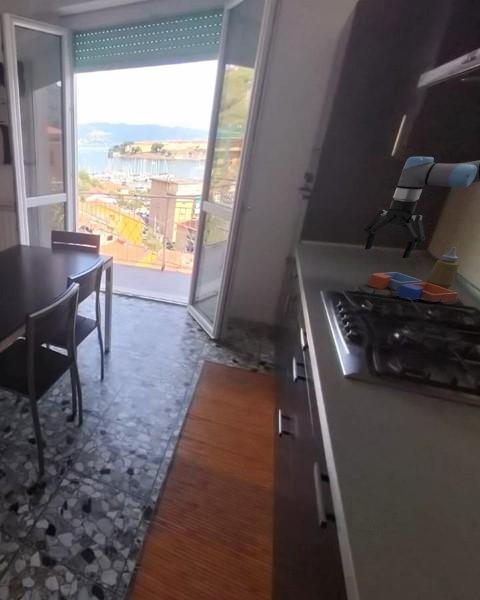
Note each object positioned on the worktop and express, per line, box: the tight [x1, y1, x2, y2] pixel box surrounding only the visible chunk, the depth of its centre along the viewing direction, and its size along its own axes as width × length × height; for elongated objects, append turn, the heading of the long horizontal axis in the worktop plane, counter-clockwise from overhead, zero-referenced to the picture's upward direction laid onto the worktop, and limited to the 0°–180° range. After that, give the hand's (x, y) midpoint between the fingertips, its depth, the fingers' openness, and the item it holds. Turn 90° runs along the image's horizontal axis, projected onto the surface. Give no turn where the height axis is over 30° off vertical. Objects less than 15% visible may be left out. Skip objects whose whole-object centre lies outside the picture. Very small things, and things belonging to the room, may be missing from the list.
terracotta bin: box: [404, 282, 459, 303], centre depth 140 cm, size 11×11×4 cm
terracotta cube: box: [367, 272, 392, 290], centre depth 150 cm, size 5×5×5 cm
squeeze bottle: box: [426, 246, 460, 290], centre depth 144 cm, size 8×8×18 cm
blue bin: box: [380, 271, 424, 292], centre depth 152 cm, size 11×11×4 cm
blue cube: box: [397, 284, 424, 299], centre depth 138 cm, size 5×5×5 cm
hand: (385, 253), depth 145 cm, fingers open, 13 cm apart
